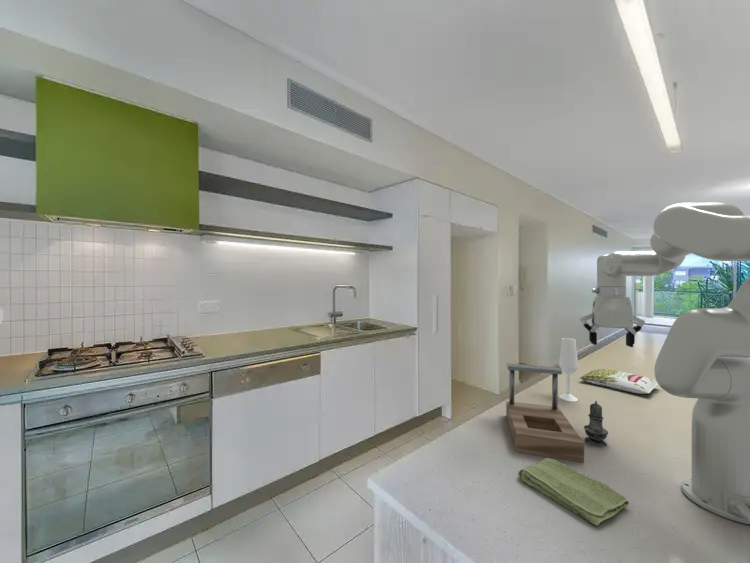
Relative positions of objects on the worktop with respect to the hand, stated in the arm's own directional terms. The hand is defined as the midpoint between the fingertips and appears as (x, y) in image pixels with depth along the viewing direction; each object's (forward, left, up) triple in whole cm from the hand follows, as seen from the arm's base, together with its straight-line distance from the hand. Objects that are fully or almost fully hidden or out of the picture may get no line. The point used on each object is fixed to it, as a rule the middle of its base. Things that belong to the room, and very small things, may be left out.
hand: (611, 345), depth 99 cm
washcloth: (-40, +23, -27) cm, 53 cm away
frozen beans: (+49, -21, -27) cm, 60 cm away
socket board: (-14, +24, -26) cm, 38 cm away
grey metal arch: (-4, +24, -21) cm, 32 cm away
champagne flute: (+24, +6, -27) cm, 37 cm away
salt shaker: (-13, +9, -27) cm, 31 cm away
